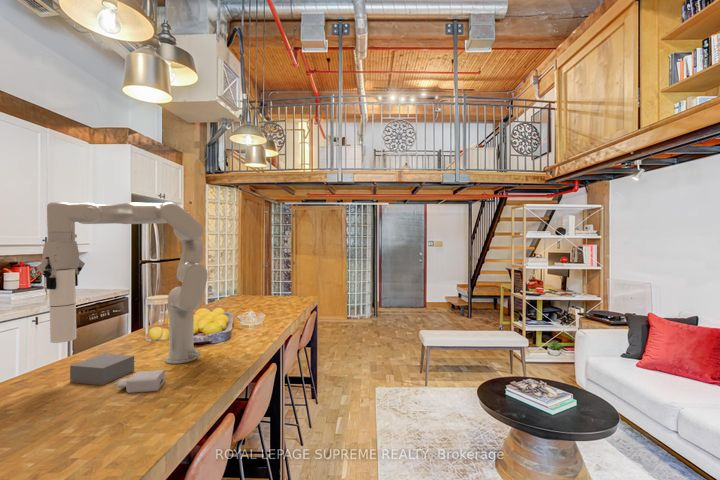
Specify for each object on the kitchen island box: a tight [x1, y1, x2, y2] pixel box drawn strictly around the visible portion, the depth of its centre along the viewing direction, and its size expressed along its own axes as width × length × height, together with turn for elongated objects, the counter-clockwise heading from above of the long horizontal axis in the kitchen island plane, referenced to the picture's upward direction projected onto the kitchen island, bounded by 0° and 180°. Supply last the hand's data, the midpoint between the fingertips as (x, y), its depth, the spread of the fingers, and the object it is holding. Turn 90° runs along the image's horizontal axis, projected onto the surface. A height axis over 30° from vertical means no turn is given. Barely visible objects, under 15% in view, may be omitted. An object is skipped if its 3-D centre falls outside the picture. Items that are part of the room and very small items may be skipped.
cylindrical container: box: [48, 269, 77, 344], centre depth 128 cm, size 7×7×25 cm
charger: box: [112, 369, 166, 394], centre depth 126 cm, size 5×9×15 cm
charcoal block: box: [69, 353, 135, 386], centre depth 137 cm, size 14×14×6 cm
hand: (62, 287), depth 128 cm, fingers closed on cylindrical container, 7 cm apart
